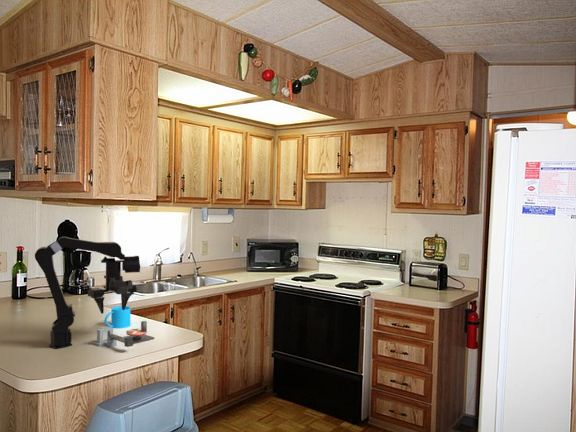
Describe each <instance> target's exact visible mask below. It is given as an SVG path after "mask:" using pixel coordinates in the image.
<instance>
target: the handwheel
mask: <svg viewBox="0 0 576 432" xmlns="http://www.w3.org/2000/svg"><path fill="white" fill-rule="evenodd" d="M147 323H148V322H147V321H146V320H141V322H140V328H133V329H132V328H131V329H129V330H127V331H126V336H140V335H144V334H145V335H147V333H148V330H147V329H148V328H147V327H148V326H147V325H148V324H147Z"/></svg>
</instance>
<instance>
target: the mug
mask: <svg viewBox="0 0 576 432" xmlns="http://www.w3.org/2000/svg"><path fill="white" fill-rule="evenodd" d="M109 317H111V319H110V321H111V324H109V322H108V318H109ZM104 324H105V325H106V326H107V327H112V328H113V329H127V328H130V327H131V307H130V306H127V305H126V307H125V310H122V305H120V306H114V307H112V308H111V311H110V312H108V313H107V314H106V315H105V317H104Z"/></svg>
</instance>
